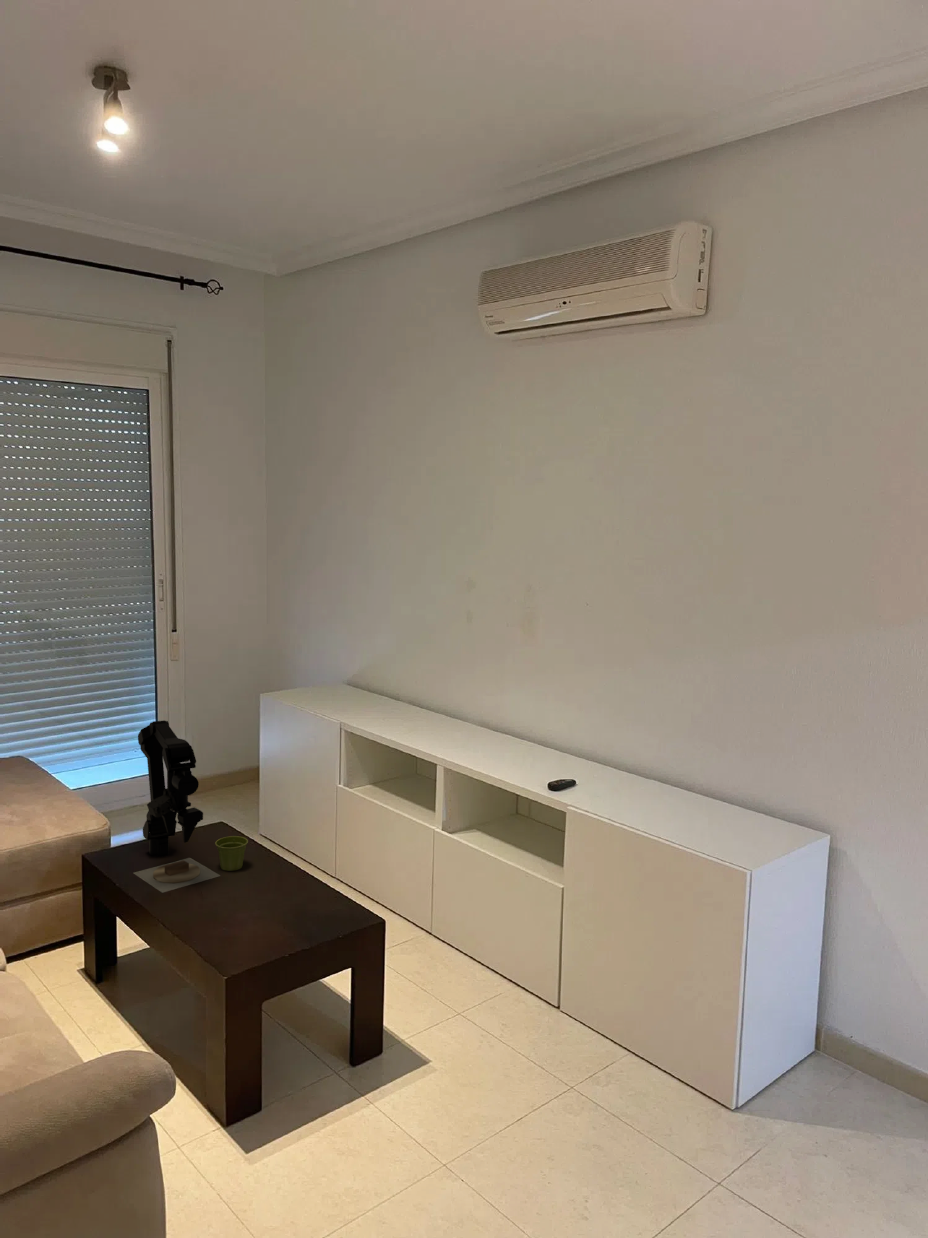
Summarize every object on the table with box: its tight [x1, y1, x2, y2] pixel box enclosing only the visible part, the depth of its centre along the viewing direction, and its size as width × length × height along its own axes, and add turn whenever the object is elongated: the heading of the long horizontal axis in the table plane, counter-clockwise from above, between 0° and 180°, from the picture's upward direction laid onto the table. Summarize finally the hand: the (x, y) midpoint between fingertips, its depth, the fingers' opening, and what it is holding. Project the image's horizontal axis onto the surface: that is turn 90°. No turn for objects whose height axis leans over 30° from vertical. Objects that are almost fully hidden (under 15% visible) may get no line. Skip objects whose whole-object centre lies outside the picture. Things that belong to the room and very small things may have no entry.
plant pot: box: [214, 835, 249, 872], centre depth 269 cm, size 9×9×9 cm
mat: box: [133, 857, 221, 894], centre depth 262 cm, size 18×18×1 cm
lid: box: [153, 859, 200, 883], centre depth 262 cm, size 13×13×3 cm
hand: (177, 838), depth 261 cm, fingers open, 9 cm apart
